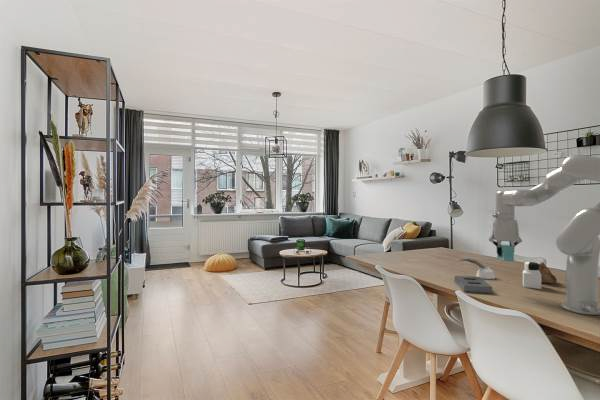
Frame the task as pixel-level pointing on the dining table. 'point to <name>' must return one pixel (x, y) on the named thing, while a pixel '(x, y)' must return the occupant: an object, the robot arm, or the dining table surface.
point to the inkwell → (482, 272)
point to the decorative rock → (546, 274)
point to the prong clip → (507, 252)
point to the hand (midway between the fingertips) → (505, 255)
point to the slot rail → (473, 284)
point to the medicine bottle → (532, 275)
